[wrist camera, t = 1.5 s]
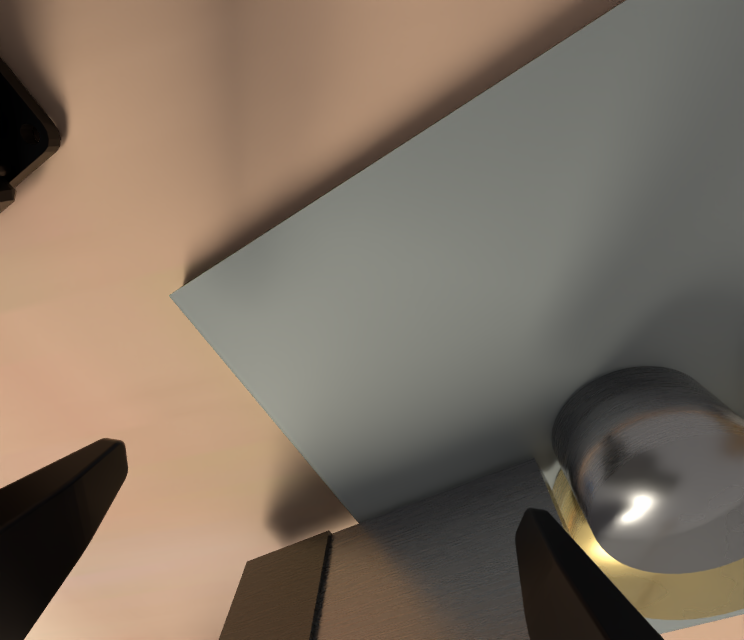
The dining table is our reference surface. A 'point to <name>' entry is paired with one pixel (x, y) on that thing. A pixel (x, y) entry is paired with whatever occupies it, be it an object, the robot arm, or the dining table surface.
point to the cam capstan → (503, 515)
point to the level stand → (505, 264)
